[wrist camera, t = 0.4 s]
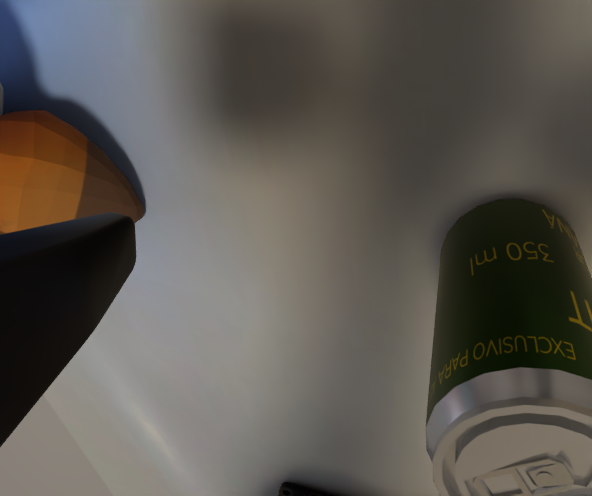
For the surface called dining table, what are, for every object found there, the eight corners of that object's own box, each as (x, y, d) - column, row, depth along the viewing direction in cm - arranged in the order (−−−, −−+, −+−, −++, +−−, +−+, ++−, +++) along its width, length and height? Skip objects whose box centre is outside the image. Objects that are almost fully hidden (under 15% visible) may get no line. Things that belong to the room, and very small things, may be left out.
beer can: (476, 319, 25) (482, 568, 15) (418, 226, 24) (382, 431, 14) (598, 275, 23) (704, 539, 13) (541, 168, 21) (610, 367, 11)
